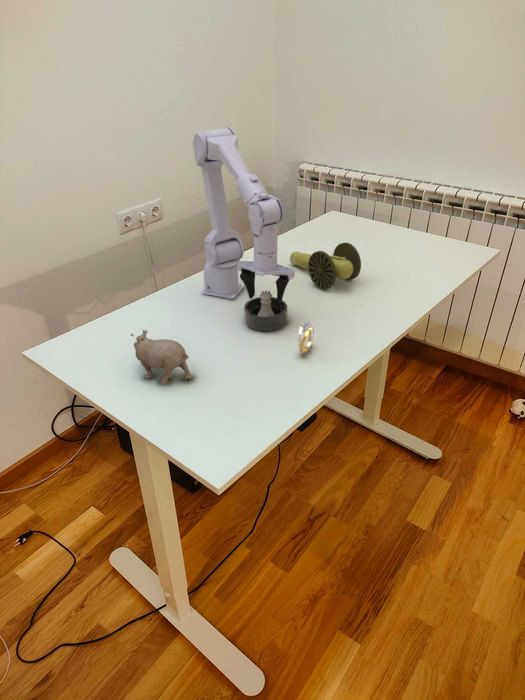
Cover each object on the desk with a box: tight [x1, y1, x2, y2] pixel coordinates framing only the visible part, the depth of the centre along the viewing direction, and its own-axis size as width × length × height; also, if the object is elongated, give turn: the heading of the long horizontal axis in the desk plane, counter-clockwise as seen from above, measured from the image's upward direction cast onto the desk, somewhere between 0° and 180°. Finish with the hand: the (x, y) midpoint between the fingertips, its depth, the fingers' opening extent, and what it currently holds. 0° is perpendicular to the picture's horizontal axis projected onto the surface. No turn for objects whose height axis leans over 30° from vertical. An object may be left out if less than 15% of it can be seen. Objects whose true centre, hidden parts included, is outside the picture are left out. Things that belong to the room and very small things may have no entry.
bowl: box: [243, 296, 289, 332], centre depth 131 cm, size 11×11×4 cm
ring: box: [297, 321, 315, 355], centre depth 118 cm, size 7×3×8 cm, turn 148°
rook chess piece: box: [258, 289, 274, 317], centre depth 130 cm, size 4×4×8 cm
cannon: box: [289, 242, 362, 291], centre depth 151 cm, size 25×12×11 cm, turn 37°
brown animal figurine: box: [130, 329, 193, 385], centre depth 111 cm, size 8×14×15 cm
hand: (265, 299), depth 129 cm, fingers open, 7 cm apart
